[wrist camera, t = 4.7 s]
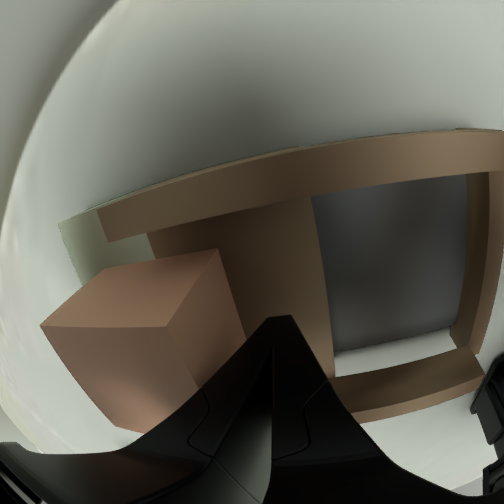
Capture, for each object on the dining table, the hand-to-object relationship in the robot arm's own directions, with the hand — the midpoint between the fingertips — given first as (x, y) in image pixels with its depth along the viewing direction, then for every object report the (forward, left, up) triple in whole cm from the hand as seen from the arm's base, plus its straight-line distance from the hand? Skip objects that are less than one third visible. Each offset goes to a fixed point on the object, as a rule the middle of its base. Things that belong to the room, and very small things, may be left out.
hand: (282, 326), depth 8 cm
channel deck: (0, 0, -3) cm, 3 cm away
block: (+4, 0, -1) cm, 4 cm away
